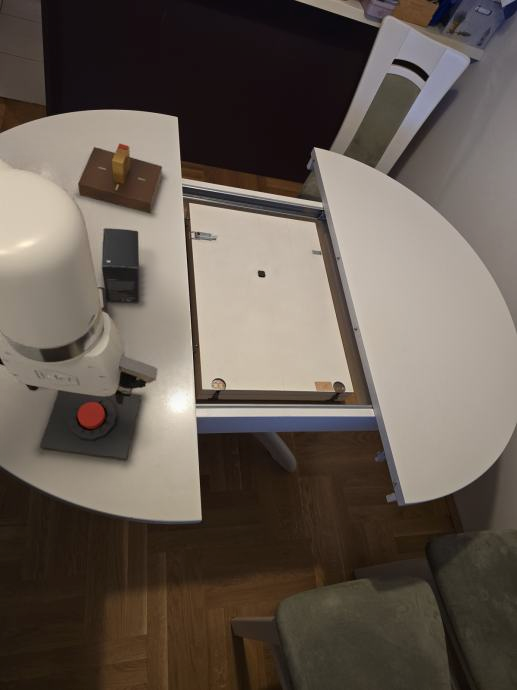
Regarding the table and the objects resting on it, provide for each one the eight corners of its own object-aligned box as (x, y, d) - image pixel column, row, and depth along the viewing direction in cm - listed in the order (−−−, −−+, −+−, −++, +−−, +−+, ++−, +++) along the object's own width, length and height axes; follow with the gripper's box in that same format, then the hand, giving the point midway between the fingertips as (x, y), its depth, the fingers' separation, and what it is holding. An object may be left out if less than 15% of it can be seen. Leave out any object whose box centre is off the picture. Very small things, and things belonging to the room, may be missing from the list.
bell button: (75, 427, 56) (74, 424, 55) (83, 403, 58) (81, 399, 56) (101, 430, 57) (100, 428, 55) (108, 407, 59) (107, 404, 57)
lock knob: (123, 184, 78) (122, 162, 74) (113, 181, 78) (111, 159, 73) (130, 167, 81) (129, 145, 76) (120, 164, 80) (119, 142, 76)
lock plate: (80, 195, 78) (77, 182, 75) (95, 158, 83) (93, 146, 80) (150, 213, 81) (150, 202, 78) (161, 177, 86) (162, 165, 83)
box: (139, 303, 71) (138, 268, 62) (106, 302, 70) (100, 266, 60) (139, 267, 75) (139, 229, 65) (108, 266, 73) (103, 226, 64)
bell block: (42, 449, 57) (36, 444, 54) (64, 386, 62) (59, 377, 58) (126, 461, 59) (125, 456, 56) (141, 399, 64) (141, 391, 61)
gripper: (-91, 335, 28) (-10, 404, 43) (150, 377, 32) (148, 427, 47) (-45, 255, 32) (15, 344, 47) (168, 300, 35) (160, 370, 50)
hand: (81, 385), depth 47 cm, fingers open, 9 cm apart
